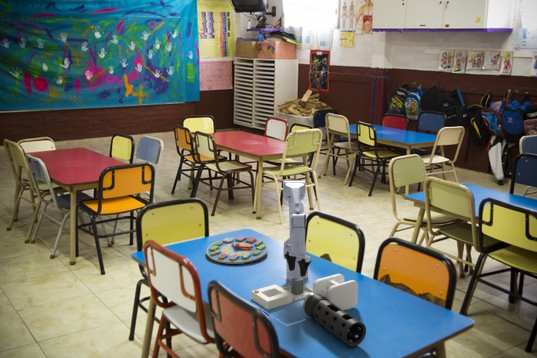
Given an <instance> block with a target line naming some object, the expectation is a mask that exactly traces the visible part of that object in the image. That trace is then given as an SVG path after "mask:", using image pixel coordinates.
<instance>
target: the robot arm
mask: <svg viewBox="0 0 537 358" xmlns="http://www.w3.org/2000/svg"><path fill="white" fill-rule="evenodd" d="M306 188H307V187H306V181H305V180H283V181H282V197H283V200H284V201H287V204H288V208H289V209H288V211H289V212H288V215H289V218H288V219H289V224H288V225H289V237H288V238H287V239H286V240H285V241H284V242H283V259H284V260H286V273H285V275H282V278H284V279H286V280H288V281H290V282H291V279H295V278H298V277H300V278H302V279H303V280H306V279H310V277H309V266H310V264H311V263H312V260H311V256H309V254H308V253H307V245H306V227H307V214H306V212H305V209H304V204H303V202H301V201H304V199H305V196H306V190H307V189H306Z"/></svg>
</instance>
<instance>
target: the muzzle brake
mask: <svg viewBox="0 0 537 358" xmlns="http://www.w3.org/2000/svg"><path fill="white" fill-rule="evenodd" d="M302 308H303V310H304V313H305V315H306V317H308V318H310V319H311V320H313V321H315V322H317V323H318V324H319V325H321V326H322V327H323V328H324V329H326V331H327V330H328V331H329V332H330V333H331V334H333V335H334V336H335V337H336V338H338V339H339V340H341V341H342V342H343V343H345V344H346V345H347V346H349V347H351V348H352V349H354V348H356V347H357V346H359V345H360V344H361V343H363V342H364V339H366V338H365V337H366V335H367V327H366V325H365V324H364V323H363V322H362V321H361V320H360V319H359V320H358V319H357V317H354V316H353V315H351V314H350V313H348V312H347V311H346V310H342V309H341V308H339V307H338V306H336V305H335V304H333V303H332V302H330V301H329V300H328V299H327V298H326V297H324V296H323V295H321V294H316V293H311V294H309V295H308V296H307V297H306V298H304V300H303V304H302Z"/></svg>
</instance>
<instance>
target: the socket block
mask: <svg viewBox="0 0 537 358" xmlns="http://www.w3.org/2000/svg"><path fill="white" fill-rule="evenodd" d="M250 292H251V293H250V294H251V296H250V298H251V301H254V302H255V303H257V304H259V305H260V306H262V307H263V308H265V309H266V310H272V309H274V308H278V307H281V306H284V305H288V304H291V303H293V300H292V294H291V293H289V292H288V291H286V290H284V289H283V287H281V286H279V285H277V284H275V283H274V284H271V285H268V286H265V287H261V288H258V289H253V290H251V291H250Z"/></svg>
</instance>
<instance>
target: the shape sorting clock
mask: <svg viewBox="0 0 537 358" xmlns="http://www.w3.org/2000/svg"><path fill="white" fill-rule="evenodd" d="M268 251H269V247H268V244H266V242H265V241H263V240H261V239H257V238H256V237H253V236H251V237H247V236H243V235H239V236H237V237H225V238H223V239H220V240H217V241H215V242H212V243H211V244H209V246H208V247H207V248H206V251H205V253H206V256H207V257H208V258H209V259H210V260H212V261H214V262H217V263H221V264H222V263H223V264H228V265H229V264H231V265H234V264H237V265H238V264H239V265H244V264H247V263H251V262H255V261H257V260H259V259H261V258H263V257H264V256H265V255H267V253H268Z"/></svg>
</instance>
